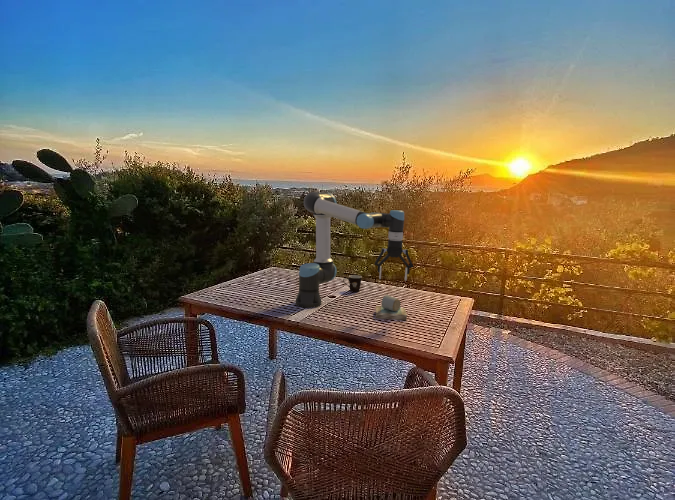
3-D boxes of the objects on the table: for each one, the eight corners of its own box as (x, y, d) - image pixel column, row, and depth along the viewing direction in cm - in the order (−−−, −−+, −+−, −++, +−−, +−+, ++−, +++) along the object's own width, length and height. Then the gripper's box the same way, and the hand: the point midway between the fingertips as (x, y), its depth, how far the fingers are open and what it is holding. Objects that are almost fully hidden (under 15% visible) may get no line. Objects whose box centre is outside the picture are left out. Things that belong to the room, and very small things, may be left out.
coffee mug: (363, 290, 253) (364, 276, 251) (357, 293, 245) (357, 278, 244) (348, 288, 259) (349, 273, 257) (342, 290, 252) (342, 276, 250)
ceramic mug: (393, 313, 198) (394, 299, 197) (380, 309, 203) (381, 295, 202) (404, 309, 206) (405, 295, 205) (391, 306, 211) (392, 292, 210)
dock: (375, 318, 199) (376, 312, 198) (375, 311, 210) (376, 305, 210) (406, 320, 197) (406, 314, 197) (404, 313, 209) (404, 307, 209)
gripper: (371, 239, 195) (369, 279, 198) (420, 242, 193) (417, 282, 196) (371, 237, 202) (369, 276, 205) (418, 240, 200) (415, 278, 203)
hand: (392, 279), depth 201 cm, fingers open, 13 cm apart
